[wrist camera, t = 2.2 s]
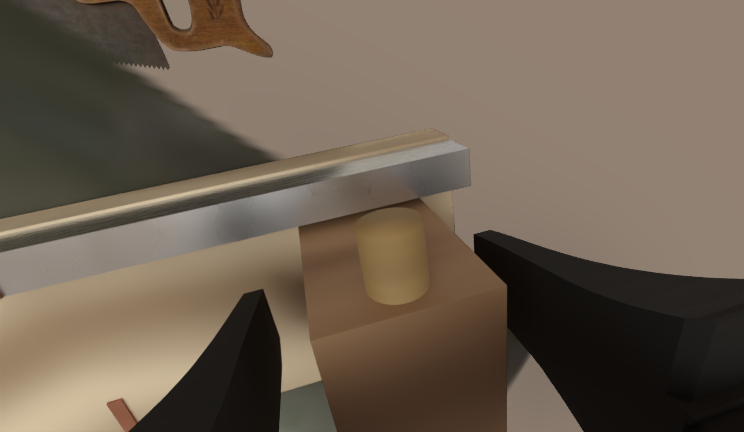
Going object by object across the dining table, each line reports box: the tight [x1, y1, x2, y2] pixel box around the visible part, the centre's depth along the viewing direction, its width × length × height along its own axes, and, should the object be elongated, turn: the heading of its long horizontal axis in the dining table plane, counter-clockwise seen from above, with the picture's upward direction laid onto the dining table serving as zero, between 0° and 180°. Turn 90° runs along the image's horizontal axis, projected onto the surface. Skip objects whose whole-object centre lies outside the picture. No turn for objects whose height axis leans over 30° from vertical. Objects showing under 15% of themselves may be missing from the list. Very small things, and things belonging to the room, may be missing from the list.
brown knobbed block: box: [298, 198, 507, 432], centre depth 11 cm, size 8×4×6 cm, turn 9°
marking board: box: [0, 128, 471, 432], centre depth 13 cm, size 9×18×3 cm, turn 99°
